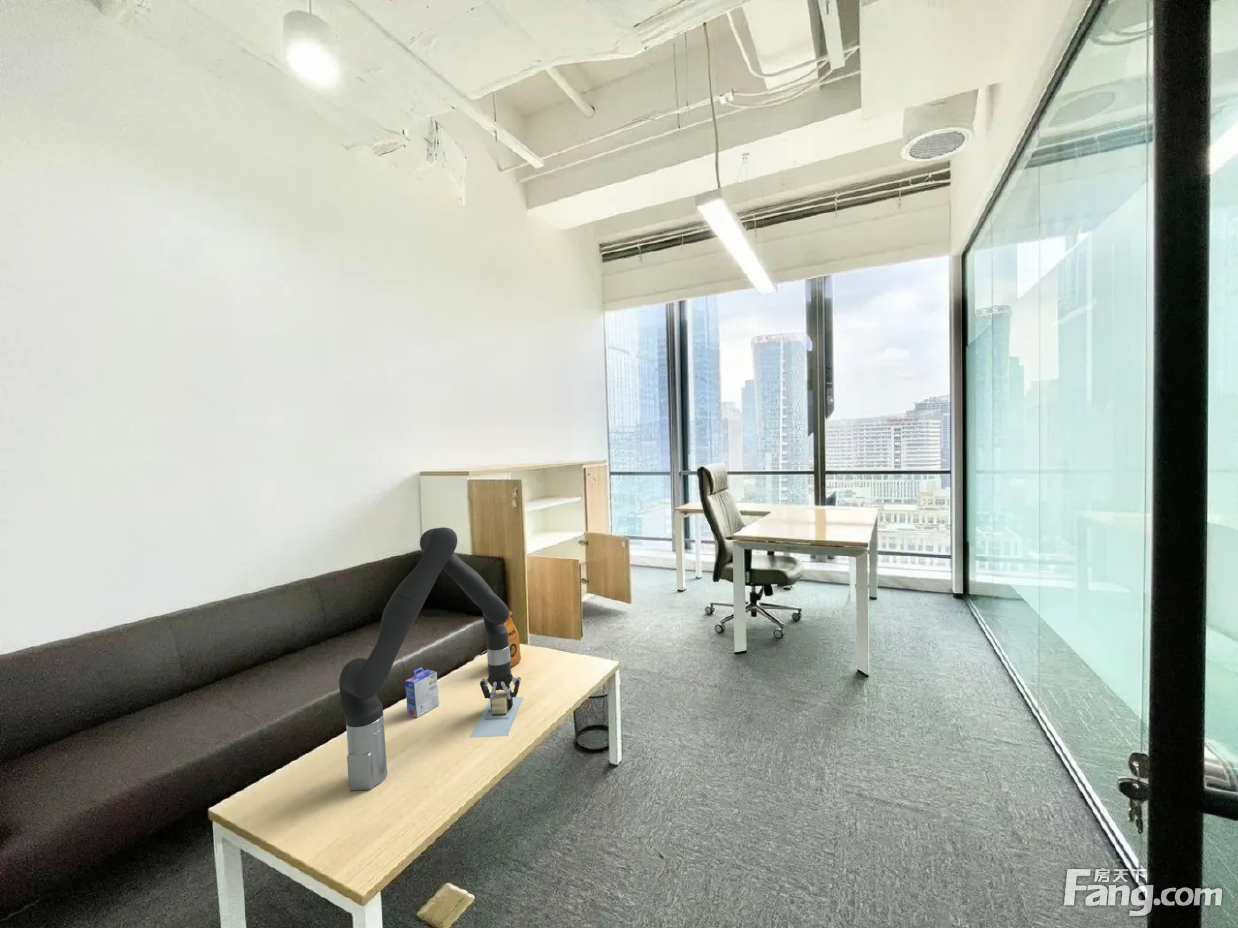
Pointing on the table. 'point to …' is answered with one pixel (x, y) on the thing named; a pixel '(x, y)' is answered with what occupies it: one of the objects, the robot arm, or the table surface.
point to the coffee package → (513, 641)
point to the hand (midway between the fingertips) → (502, 708)
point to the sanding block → (499, 703)
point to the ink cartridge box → (421, 692)
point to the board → (496, 721)
